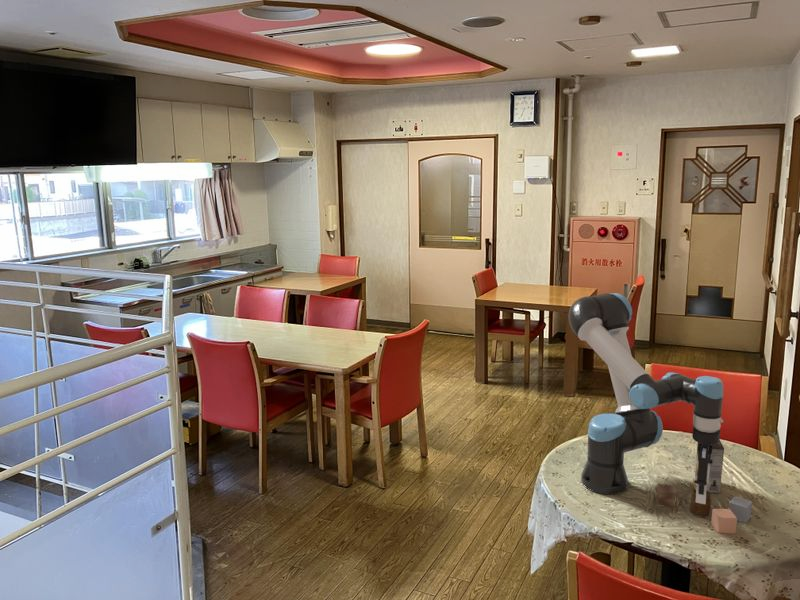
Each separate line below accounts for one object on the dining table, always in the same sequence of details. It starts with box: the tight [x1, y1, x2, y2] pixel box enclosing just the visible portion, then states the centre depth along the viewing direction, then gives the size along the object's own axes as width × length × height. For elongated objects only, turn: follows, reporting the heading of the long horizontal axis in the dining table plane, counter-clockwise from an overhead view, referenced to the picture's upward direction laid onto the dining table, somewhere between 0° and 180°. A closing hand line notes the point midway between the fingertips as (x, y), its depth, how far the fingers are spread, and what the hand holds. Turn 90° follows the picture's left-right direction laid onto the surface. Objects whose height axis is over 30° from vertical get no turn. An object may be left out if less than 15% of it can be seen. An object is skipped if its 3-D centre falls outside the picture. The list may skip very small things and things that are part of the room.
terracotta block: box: [710, 508, 738, 534], centre depth 195 cm, size 5×5×5 cm
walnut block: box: [656, 483, 677, 508], centre depth 210 cm, size 5×5×5 cm
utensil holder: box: [689, 478, 712, 518], centre depth 203 cm, size 6×6×12 cm
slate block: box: [728, 496, 753, 524], centre depth 201 cm, size 5×5×5 cm
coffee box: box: [694, 440, 725, 494], centre depth 218 cm, size 9×6×16 cm
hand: (702, 492), depth 202 cm, fingers open, 13 cm apart
